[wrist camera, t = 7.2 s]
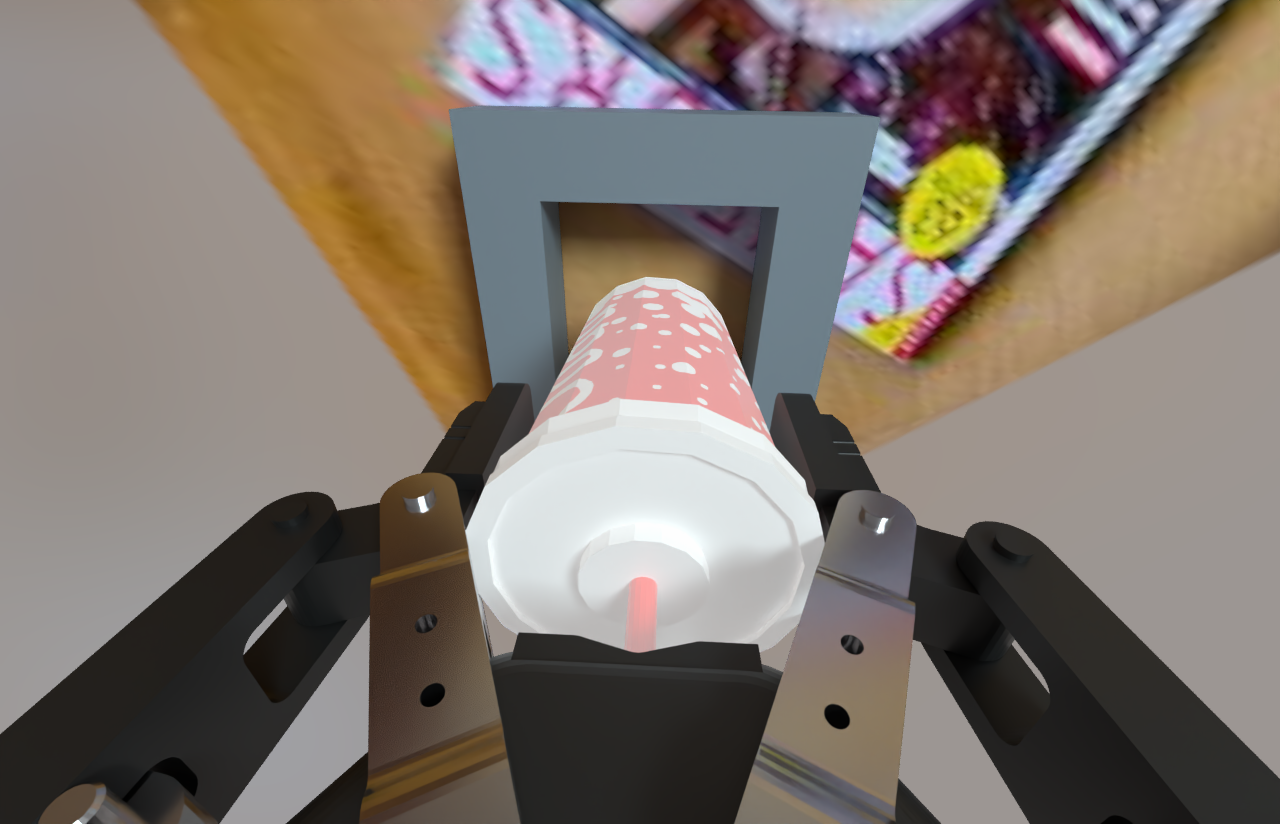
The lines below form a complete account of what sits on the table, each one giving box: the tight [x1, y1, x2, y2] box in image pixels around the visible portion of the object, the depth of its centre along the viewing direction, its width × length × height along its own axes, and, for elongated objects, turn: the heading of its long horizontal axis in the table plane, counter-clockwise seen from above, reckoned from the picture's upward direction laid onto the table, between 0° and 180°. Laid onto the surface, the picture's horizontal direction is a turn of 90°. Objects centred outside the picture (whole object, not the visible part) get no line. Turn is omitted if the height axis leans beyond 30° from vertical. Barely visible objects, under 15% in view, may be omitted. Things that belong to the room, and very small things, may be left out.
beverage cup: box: [466, 277, 825, 653], centre depth 10 cm, size 6×6×14 cm
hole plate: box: [449, 106, 880, 432], centre depth 20 cm, size 13×13×3 cm
